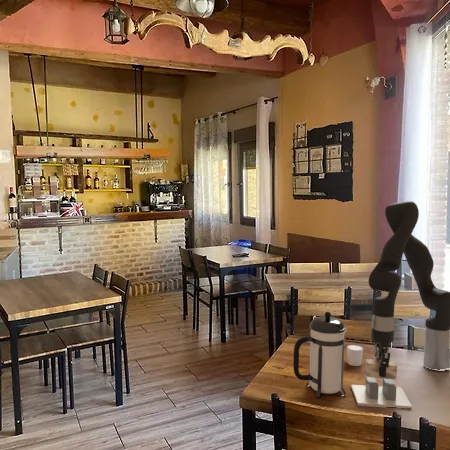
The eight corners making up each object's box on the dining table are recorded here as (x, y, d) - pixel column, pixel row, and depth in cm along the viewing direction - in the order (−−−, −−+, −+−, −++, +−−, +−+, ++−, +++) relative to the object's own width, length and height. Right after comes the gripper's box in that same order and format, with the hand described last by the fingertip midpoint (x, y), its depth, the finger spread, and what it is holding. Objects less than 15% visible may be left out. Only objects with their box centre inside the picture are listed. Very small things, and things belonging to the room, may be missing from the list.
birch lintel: (394, 374, 158) (394, 361, 158) (396, 379, 154) (396, 365, 154) (365, 372, 160) (365, 359, 160) (366, 376, 156) (367, 363, 156)
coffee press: (314, 377, 174) (316, 303, 171) (353, 389, 164) (355, 311, 161) (291, 393, 161) (293, 313, 158) (332, 407, 151) (334, 322, 148)
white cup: (361, 360, 191) (361, 344, 191) (364, 367, 185) (365, 350, 184) (344, 359, 192) (345, 344, 191) (347, 366, 185) (348, 350, 185)
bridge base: (400, 390, 164) (401, 374, 163) (412, 409, 150) (412, 392, 150) (351, 387, 166) (351, 371, 166) (357, 405, 152) (358, 389, 152)
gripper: (399, 334, 148) (397, 383, 150) (388, 321, 162) (386, 366, 164) (376, 333, 149) (374, 382, 151) (367, 320, 163) (366, 365, 165)
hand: (380, 373), depth 157 cm, fingers closed on birch lintel, 4 cm apart
